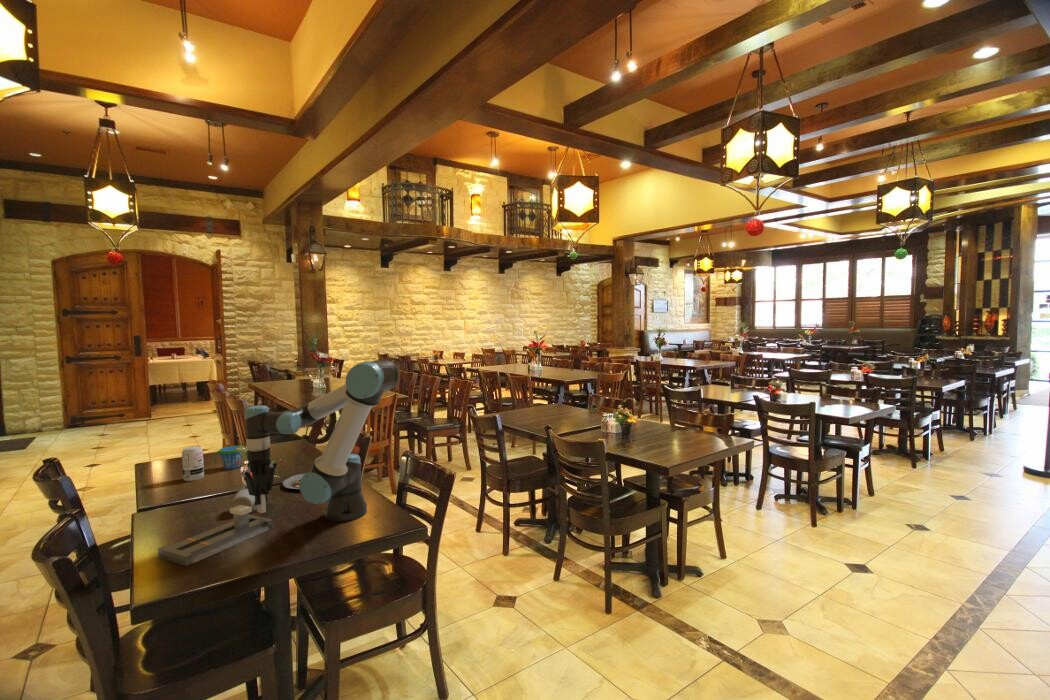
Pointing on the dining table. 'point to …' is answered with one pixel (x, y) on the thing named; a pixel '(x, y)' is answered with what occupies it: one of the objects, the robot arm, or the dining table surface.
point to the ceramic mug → (244, 499)
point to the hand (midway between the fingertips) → (261, 511)
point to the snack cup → (230, 457)
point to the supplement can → (192, 463)
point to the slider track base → (213, 541)
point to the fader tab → (240, 515)
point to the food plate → (293, 481)
